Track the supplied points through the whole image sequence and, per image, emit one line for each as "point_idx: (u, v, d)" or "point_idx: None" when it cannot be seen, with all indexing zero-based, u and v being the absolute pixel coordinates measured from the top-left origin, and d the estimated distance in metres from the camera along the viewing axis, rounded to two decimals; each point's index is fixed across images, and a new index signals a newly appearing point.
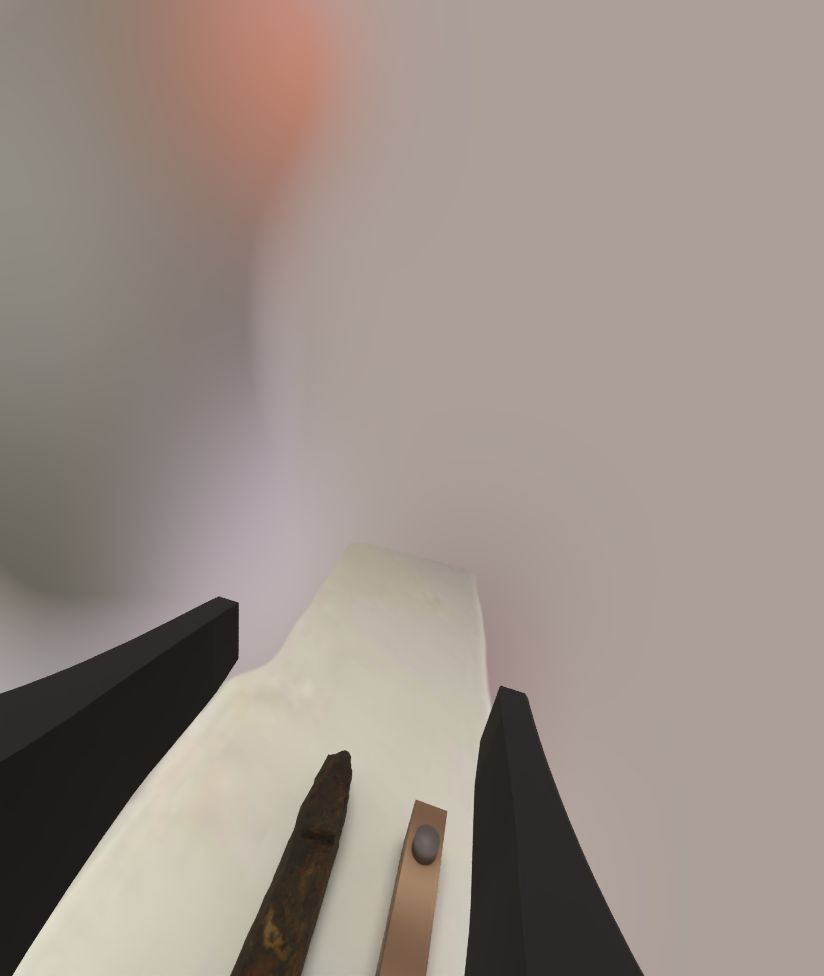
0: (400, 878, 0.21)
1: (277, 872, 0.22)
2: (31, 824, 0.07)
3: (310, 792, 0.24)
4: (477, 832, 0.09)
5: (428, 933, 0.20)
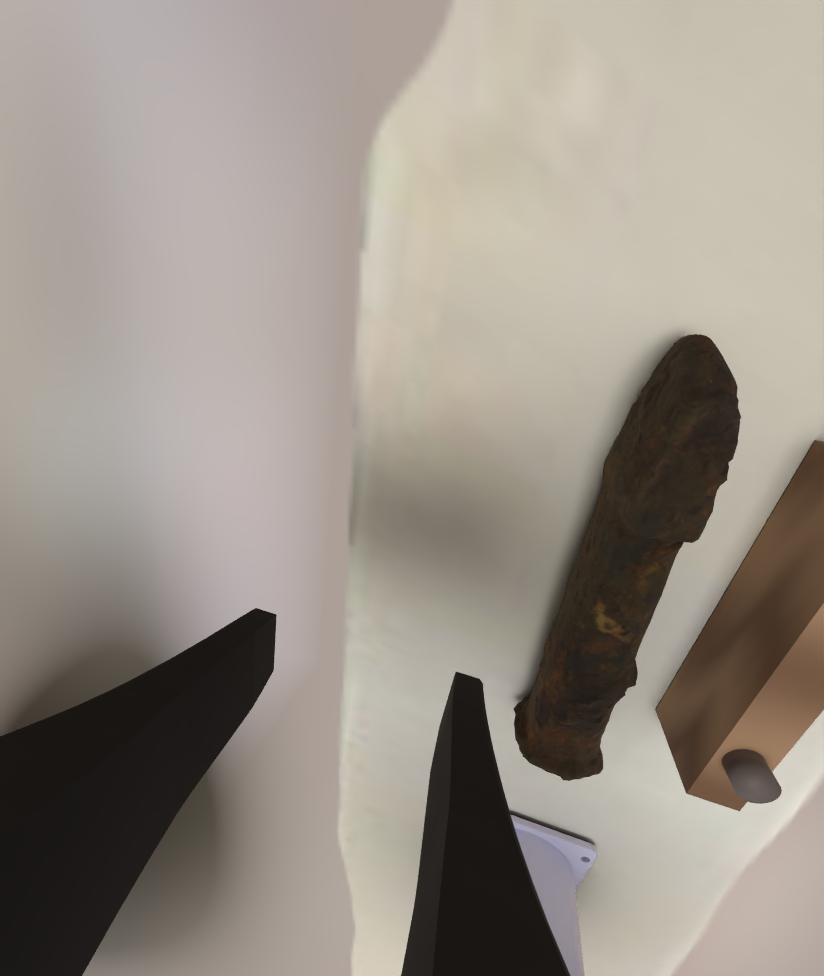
0: None
1: (597, 559, 0.15)
2: (90, 850, 0.06)
3: (644, 485, 0.13)
4: (427, 813, 0.09)
5: None
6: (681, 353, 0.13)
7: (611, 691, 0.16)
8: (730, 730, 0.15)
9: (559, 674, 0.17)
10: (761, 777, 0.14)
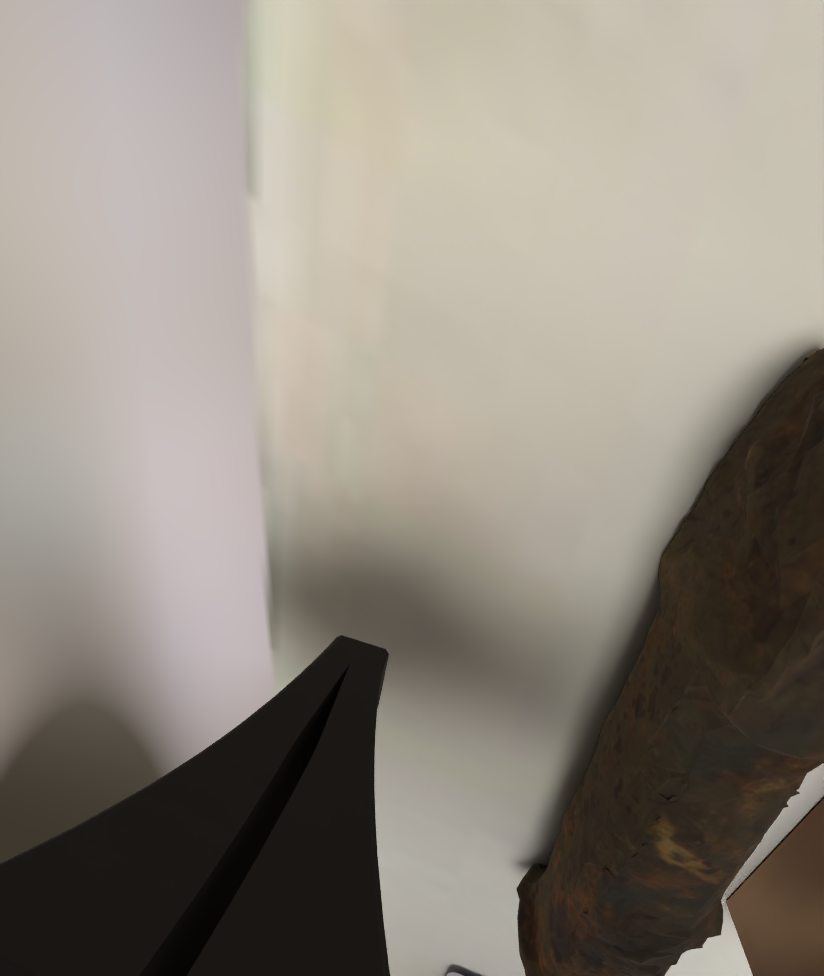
0: None
1: (661, 748, 0.08)
2: None
3: (784, 667, 0.06)
4: None
5: None
6: None
7: (679, 945, 0.10)
8: None
9: (589, 900, 0.10)
10: None
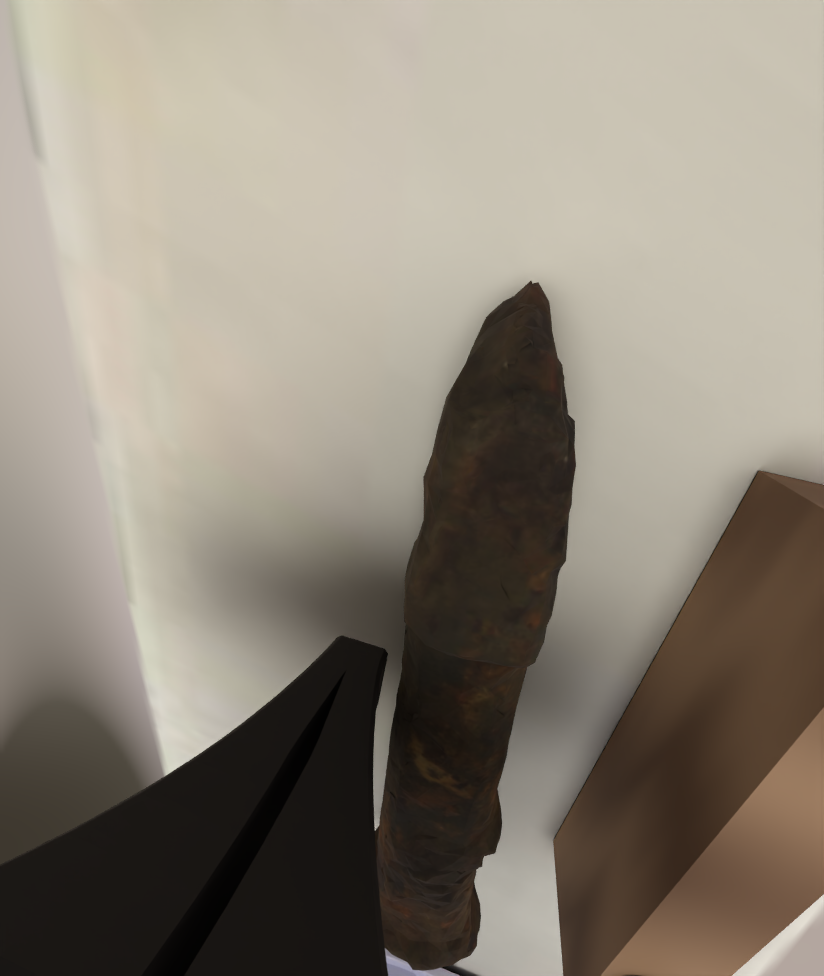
0: (764, 779, 0.07)
1: (405, 669, 0.09)
2: None
3: (418, 567, 0.07)
4: None
5: None
6: (489, 315, 0.07)
7: (456, 862, 0.10)
8: (620, 948, 0.09)
9: (387, 826, 0.11)
10: None
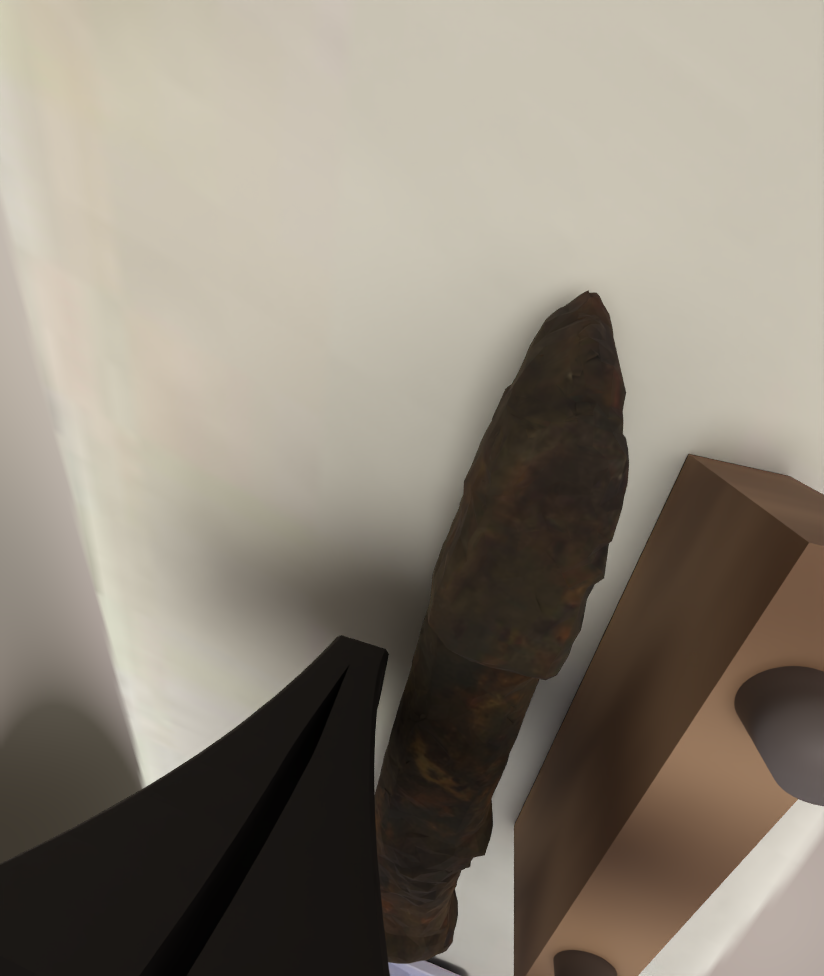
0: (674, 749, 0.07)
1: (416, 669, 0.09)
2: None
3: (452, 572, 0.06)
4: None
5: (742, 848, 0.07)
6: (544, 322, 0.07)
7: (445, 862, 0.10)
8: (558, 923, 0.09)
9: (377, 821, 0.11)
10: None
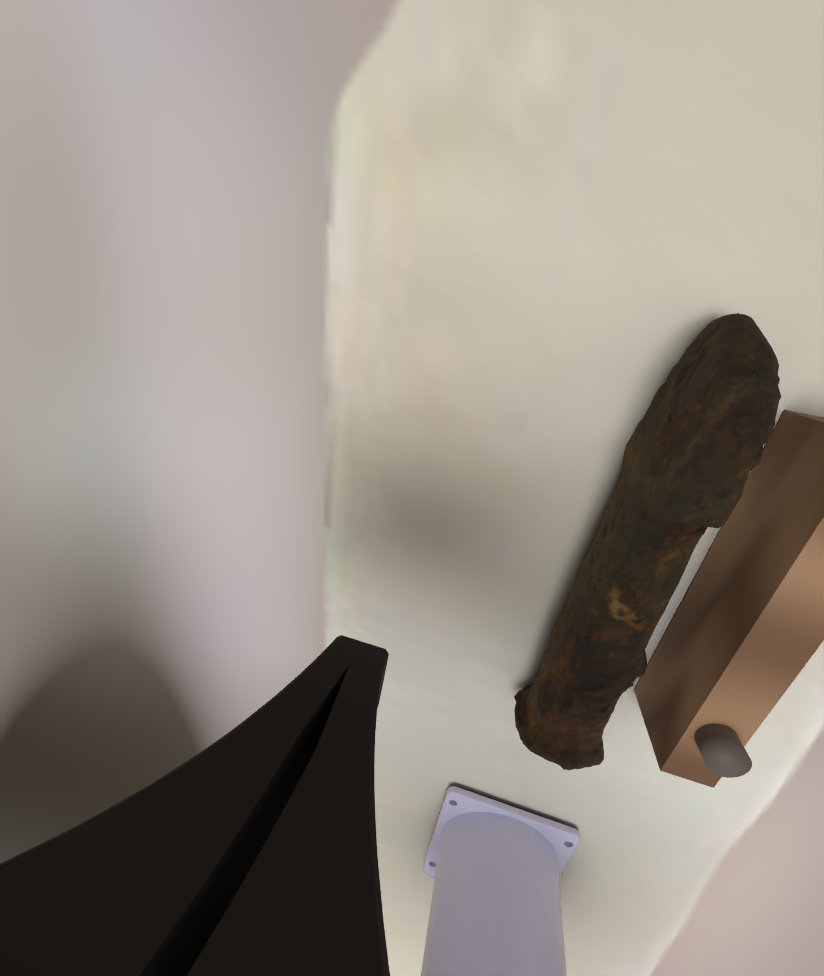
0: (792, 566, 0.13)
1: (615, 543, 0.15)
2: None
3: (674, 465, 0.12)
4: None
5: None
6: (719, 331, 0.12)
7: (619, 679, 0.16)
8: (701, 704, 0.15)
9: (566, 661, 0.17)
10: (732, 751, 0.14)
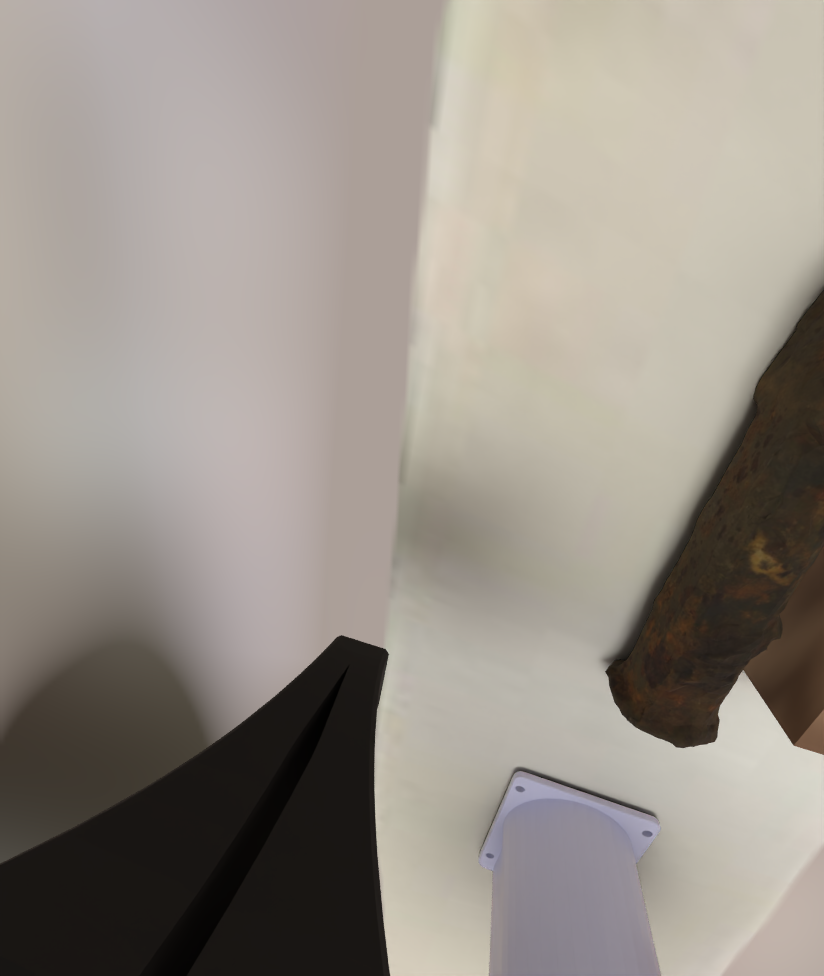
0: None
1: (763, 484, 0.13)
2: None
3: None
4: None
5: None
6: None
7: (753, 643, 0.14)
8: None
9: (688, 624, 0.15)
10: None
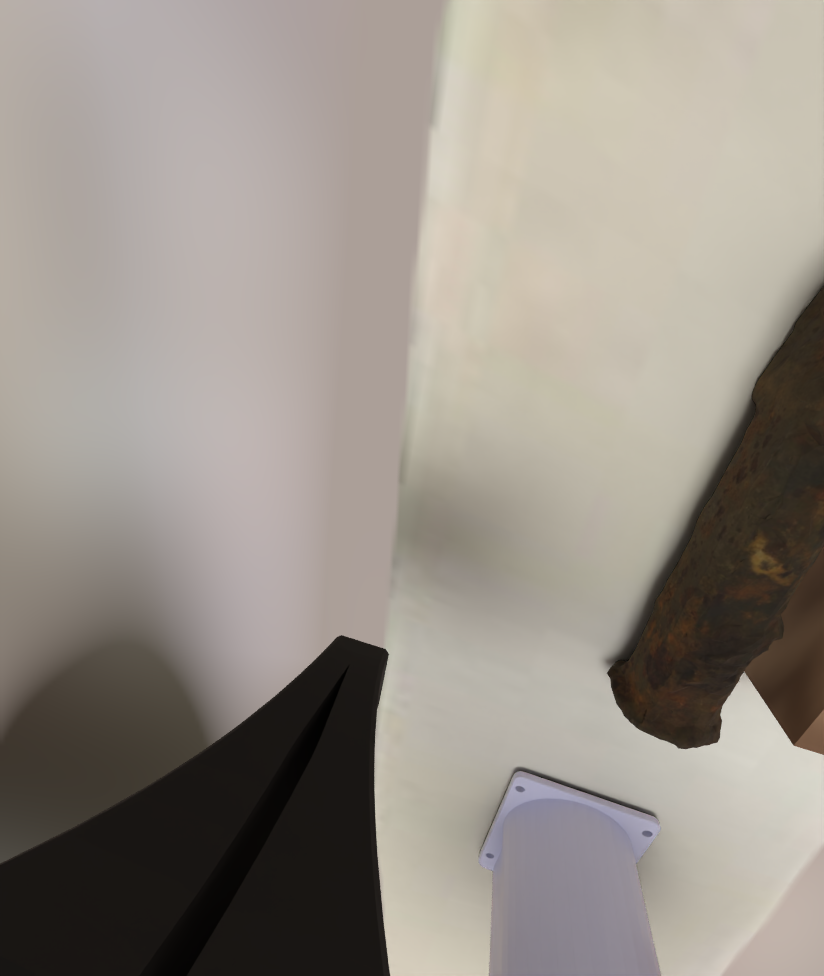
0: None
1: (762, 485, 0.13)
2: None
3: None
4: None
5: None
6: None
7: (754, 643, 0.14)
8: None
9: (689, 625, 0.15)
10: None
